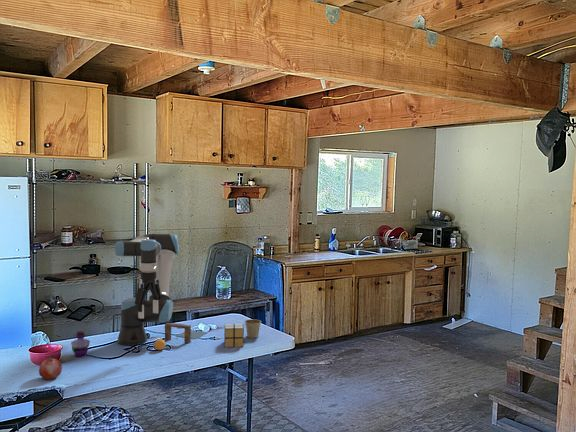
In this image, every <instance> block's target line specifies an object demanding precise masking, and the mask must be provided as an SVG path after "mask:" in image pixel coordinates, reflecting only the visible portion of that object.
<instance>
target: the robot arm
mask: <svg viewBox="0 0 576 432" xmlns="http://www.w3.org/2000/svg"><path fill="white" fill-rule="evenodd" d="M114 253H115V256H116V257H140V268H139V269H140V271H141V272H140V280H142V281H141V283H137V290H136V294H135V297H131V298H126V299H124V300H123V301H122V302H121V304H120V331H119V334H118V337H117V344H119V345H121V346H137V345H142V344H145V343H146V342H147V341H148V335H147V334H146V333H147V332H146V330H145V327H144V326H145V325H144V324H145V323H160V324H161V323H169V321H170V320H171V319H172V315H173V311H174V301H173V300H172V298H171V297H170V295H169V292H170V283H171V277H172V276H171V274H172V266H173V259H175V258H176V256H177V255H178V254H179V253H180V245H179V238H178V235H177V234H176V233H175V234H174V233H146V234H143V235H139V236H137V237H135V238H134V239H132V240H127V241H116V242H115V244H114ZM149 291H150V293H151V294H150V295H149V298H148V300H147V299H146V297H147V294H148V293H149ZM145 299H146V300H145Z"/></svg>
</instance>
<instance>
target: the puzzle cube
mask: <svg viewBox="0 0 576 432" xmlns="http://www.w3.org/2000/svg"><path fill="white" fill-rule="evenodd" d="M244 328H245V327H244V323H225V324H224V335H223V336H224V339H223V340H224V343H223V344H224V347H225V348H244V345H245V344H244V339H245V337H244V336H245V335H244V334H245V333H244V331H245V330H244Z"/></svg>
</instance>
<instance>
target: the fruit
mask: <svg viewBox="0 0 576 432" xmlns="http://www.w3.org/2000/svg"><path fill="white" fill-rule="evenodd" d="M62 366H63V365H62V363H61V361H60V360H58V359H57V358H52V357H51V356H50V355H48V358H47V359H45V360H43V361H42V362H40V364H39V369H38V374H39V376H40V377H41V378H43V379H44V380H47V381H48V380H52V379H55V378H58V377H59V376H60V375H61V373H62V371H63V370H62V369H63V367H62Z"/></svg>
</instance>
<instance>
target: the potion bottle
mask: <svg viewBox="0 0 576 432" xmlns="http://www.w3.org/2000/svg"><path fill="white" fill-rule="evenodd" d="M85 337H86V333H85V331H83V330H78V331H77V332H76V334H75V338H76V339H75V340H73V341H71V343H70V344H71V349H72V352H73V354H74V357H75V356H76V358H83V357H82V356H84V357H86V356H87V355H88V349H89V346H90V344H91V343H90V342H91V340H89V339H87V338H85ZM85 355H86V356H85Z"/></svg>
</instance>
